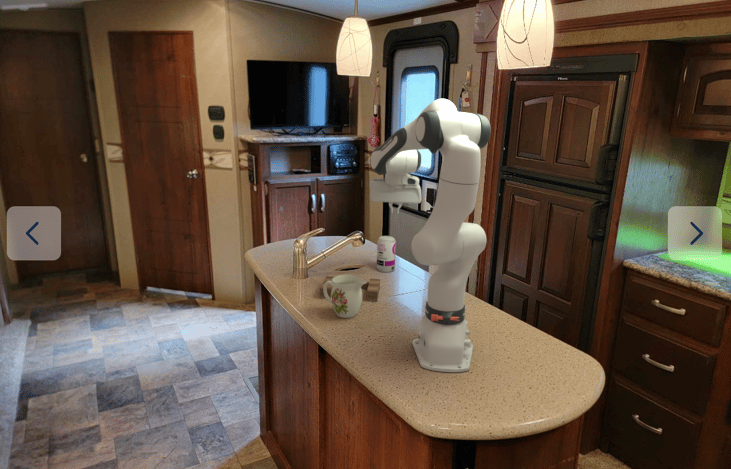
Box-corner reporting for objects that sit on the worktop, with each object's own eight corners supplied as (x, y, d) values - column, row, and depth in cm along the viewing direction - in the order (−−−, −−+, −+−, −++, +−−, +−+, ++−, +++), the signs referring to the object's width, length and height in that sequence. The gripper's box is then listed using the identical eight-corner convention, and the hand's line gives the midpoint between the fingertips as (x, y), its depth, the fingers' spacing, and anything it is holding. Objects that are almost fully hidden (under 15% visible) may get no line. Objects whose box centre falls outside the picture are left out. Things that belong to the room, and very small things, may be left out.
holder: (377, 301, 184) (377, 292, 183) (320, 298, 186) (320, 288, 185) (379, 288, 198) (380, 279, 197) (326, 285, 200) (326, 276, 199)
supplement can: (396, 267, 223) (397, 236, 219) (392, 273, 215) (394, 241, 211) (378, 266, 225) (379, 234, 221) (375, 271, 217) (375, 239, 213)
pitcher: (332, 302, 183) (332, 268, 179) (373, 314, 174) (374, 278, 170) (314, 312, 174) (314, 276, 170) (357, 325, 164) (357, 287, 161)
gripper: (368, 178, 185) (368, 213, 189) (422, 180, 184) (420, 216, 187) (370, 176, 192) (369, 210, 195) (422, 178, 190) (420, 212, 193)
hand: (395, 213), depth 191 cm, fingers closed
